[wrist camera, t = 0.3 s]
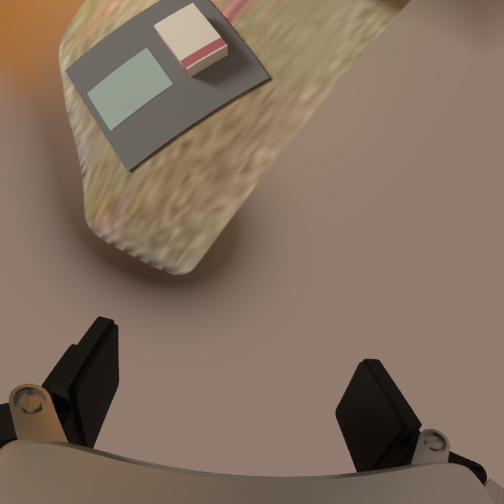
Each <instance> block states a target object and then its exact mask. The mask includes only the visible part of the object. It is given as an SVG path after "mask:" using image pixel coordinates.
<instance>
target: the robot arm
mask: <svg viewBox="0 0 504 504" xmlns="http://www.w3.org/2000/svg"><path fill="white" fill-rule="evenodd" d="M118 384H119V364H118V325H116V324H114V320H112V319H108V318H104V317H101V316H99V317H98V318H97V319H96V320H95V321H94V323H93V324H92V325H91V327H90V328H89V329H88V331H87V332H86V334H85V335H84V336H83V338H82V339H81V340H80V342H79V343H78V344H77V345H75V344H72V345H71V346H70V347H69V348H68V349H67V351H66V352H65V353H64V355H63V356H62V358H61V359H60V360H59V362H58V363H57V364H56V366H55V367H54V369H53V370H52V372H51V373H50V374H49V376H48V377H47V379H46V380H45V382H44V383H43V384H42V386H41V387H40V386H38V385H35V384H24V385H20V386H18V387H16V388H14V390H13V391H12V392H11V393H10V396H9V403H6V404H0V504H504V488H503V487H501V486H500V485H499V484H497V483H496V482H494V481H493V480H491V479H489V480H488V481H487V474H486V472H485V470H484V468H483V467H482V466H481V465H480V464H478V463H476V462H474V461H471V460H469V459H466V458H464V457H461V456H459V455H457V454H455V453H453V452H450V451H449V449H450V444H449V441H448V439H447V437H446V436H445V435H444V434H443V433H441V432H439V431H437V430H434V429H426V430H423V431H422V432H420V431H419V429H420V427H421V426H422V424H421V422H420V421H419V419H418V418H417V416H416V415H415V413H414V412H413V410H412V408H411V407H410V406H409V404H408V402H407V401H406V399H405V398H404V396H403V395H402V394H401V392H400V390H399V389H398V387H397V386H396V384H395V383H394V381H393V380H392V379H391V377H390V375H389V374H388V372H387V371H386V369H385V368H384V366H383V365H382V363H381V362H380V361H379V360H377V359H364V360H363V362H360V363H359V365H358V367H357V369H356V371H355V373H354V375H353V377H352V379H351V381H350V383H349V386H348V387H347V389H346V391H345V393H344V395H343V398H342V399H341V401H340V403H339V405H338V407H337V409H336V418H337V421H338V423H339V426H340V429H341V431H342V434H343V437H344V439H345V442H346V444H347V447H348V450H349V452H350V455H351V457H352V460H353V463H354V466H355V468H356V471H357V473H349V474H339V475H325V476H301V477H268V476H267V477H266V476H245V475H231V474H221V473H211V472H203V471H195V470H188V469H182V468H176V467H170V466H165V465H160V464H155V463H150V462H145V461H140V460H136V459H131V458H127V457H123V456H119V455H115V454H112V453H108V452H104V451H100V450H96V449H93V447H94V445H95V442H96V440H97V437H98V435H99V432H100V429H101V427H102V424H103V422H104V419H105V417H106V414H107V412H108V409H109V407H110V405H111V402H112V400H113V397H114V395H115V392H116V390H117V388H118Z"/></svg>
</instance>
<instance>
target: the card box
mask: <svg viewBox="0 0 504 504" xmlns="http://www.w3.org/2000/svg"><path fill="white" fill-rule="evenodd" d="M154 27H155V29H156V30H157V32H158V34H159V35H160V37H161V38H162V39H163V41H164V42H165V43H166V45H167V46H168V47H169V49H170V50H171V51H172V53H173V54H174V55H175V57H176V58H177V59H178V61H179V62H180V64H181V65H182V66H183V68H184V69H185V71H186V72H187V73H188V75H189V76H190V77H192V76H193V75H195V74H197V73H198V72H200V71H202V70H203V69H205V68H206V67H208V66H210V65H212V64H213V63H215V62H217V61H218V60H220V59H222V58H224V57H225V56H227V55H228V47H227V44H226V43H225V42H224V40H223V39H222V38H221V37H220V35H219V34H218V33H217V32H216V30H215V29H214V28H213V27H212V25H211V24H210V23H209V22H208V20H207V19H206V18H205V17H204V16H203V14H202V13H201V12H200V11H199V10H198V8H197V7H196V6H195V5H194V4H193V3H191V4H190V5H188V6H186V7H184V8H182V9H180V10H179V11H177V12H175V13H173V14H172V15H170V16H168V17H167V18H165V19H163V20H162V21H160V22H158V23H157V24H155V25H154Z"/></svg>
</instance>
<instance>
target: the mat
mask: <svg viewBox="0 0 504 504" xmlns="http://www.w3.org/2000/svg"><path fill="white" fill-rule="evenodd" d="M191 3H193V4H194V5H195V6H196V7H197V8H198V10H199V11H200V12H201V13H202V14H203V16H204V17H205V18H206V19H207V20H208V22H209V23H210V24H211V25H212V27H213V28H214V29H215V30H216V32H217V33H218V34H219V35H220V37H221V38H222V39H223V40H224V42H225V43H226V44H227V47H228V55H227V56H225V57H224V58H222V59H220V60H218V61H217V62H215V63H213V64H212V65H210V66H208V67H206V68H205V69H203V70H202V71H200V72H198V73H197V74H195V75H193V76H192V77H190V76H189V75H188V73H187V72H186V71H185V69H184V68H183V66H182V65H181V64H180V62H179V61H178V59H177V58H176V57H175V55H174V54H173V53H172V51H171V50H170V49H169V47H168V46H167V45H166V43H165V42H164V41H163V39H162V38H161V37H160V35H159V34H158V32H157V30H156V29H155V27H154V25H155V24H157V23H158V22H160V21H162V20H163V19H165V18H167V17H168V16H170V15H172V14H173V13H175V12H177V11H179V10H180V9H182V8H184V7H186V6H188V5H190V4H191ZM66 72H67V74H68V76H69V77H70V79H71V81H72V83H73V84H74V86H75V88H76V89H77V91H78V93H79V94H80V96H81V98H82V99H83V101H84V103H85V104H86V106H87V108H88V109H89V111H90V112H91V114H92V116H93V117H94V119H95V121H96V122H97V124H98V125H99V127H100V129H101V130H102V132H103V133H104V135H105V136H106V138H107V140H108V141H109V143H110V144H111V146H112V147H113V149H114V150H115V152H116V153H117V155H118V157H119V158H120V160H121V161H122V163H123V164H124V166H125V167H126V169H127V170H128V171H130V170H132V169H133V168H134V167H135V166H137V165H138V164H139V163H141V162H142V161H143V160H144V159H146V158H147V157H148V156H150V155H151V154H152V153H154V152H155V151H156V150H158V149H159V148H160V147H162V146H163V145H165V144H166V143H167V142H169V141H170V140H172V139H173V138H174V137H176V136H177V135H179V134H180V133H181V132H183V131H184V130H186V129H187V128H189V127H190V126H192V125H193V124H195V123H196V122H198V121H199V120H201V119H202V118H204V117H205V116H207V115H208V114H210V113H211V112H213V111H215V110H216V109H218V108H219V107H221V106H223V105H224V104H226V103H227V102H229V101H231V100H232V99H234V98H236V97H237V96H239V95H241V94H243V93H244V92H246V91H248V90H249V89H251V88H253V87H255V86H256V85H258V84H260V83H262V82H264V81H265V80H267V79H269V78H270V77H269V75H268V74H267V73H266V71H265V70H264V68H263V67H262V66H261V64H260V63H259V62H258V60H257V59H256V58H255V56H254V55H253V54H252V52H251V51H250V50H249V48H248V47H247V46H246V44H245V43H244V42H243V41H242V39H241V38H240V37H239V35H238V34H237V33H236V32H235V30H234V29H233V28H232V27H231V26H230V24H229V23H228V22H227V21H226V19H225V18H224V17H223V16H222V15H221V13H220V12H219V11H218V10H217V9H216V8H215V6H214V5H213V4H212V3H211V2H210V1H209V0H160V1H158V2H157V3H155V4H153V5H152V6H150V7H149V8H147V9H145V10H144V11H142V12H141V13H139V14H138V15H136V16H134V17H133V18H131V19H130V20H129V21H127V22H126V23H124V24H123V25H121V26H120V27H118V28H117V29H116V30H114V31H113V32H112V33H110V34H109V35H108V36H106V37H105V38H104V39H102V40H101V41H100V42H98V43H97V44H96V45H95V46H93V47H92V48H91V49H90V50H88V51H87V52H86V53H85V54H84V55H82V56H81V57H80V58H79V59H78V60H77V61H75V62H74V63H73V64H72V65H71V66H70V67H69V68H68V69H67V70H66Z"/></svg>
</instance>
